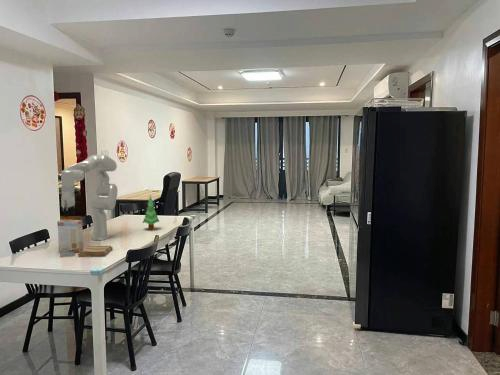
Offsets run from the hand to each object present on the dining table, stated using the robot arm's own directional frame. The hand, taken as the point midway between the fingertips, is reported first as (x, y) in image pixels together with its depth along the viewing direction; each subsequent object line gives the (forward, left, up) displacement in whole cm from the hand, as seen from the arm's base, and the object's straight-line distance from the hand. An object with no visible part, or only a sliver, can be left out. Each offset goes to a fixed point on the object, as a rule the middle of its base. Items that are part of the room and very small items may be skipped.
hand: (69, 215), depth 233 cm
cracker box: (0, 0, -24) cm, 24 cm away
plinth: (+6, +18, -24) cm, 31 cm away
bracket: (+9, +2, -25) cm, 26 cm away
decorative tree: (-65, +39, -24) cm, 80 cm away
